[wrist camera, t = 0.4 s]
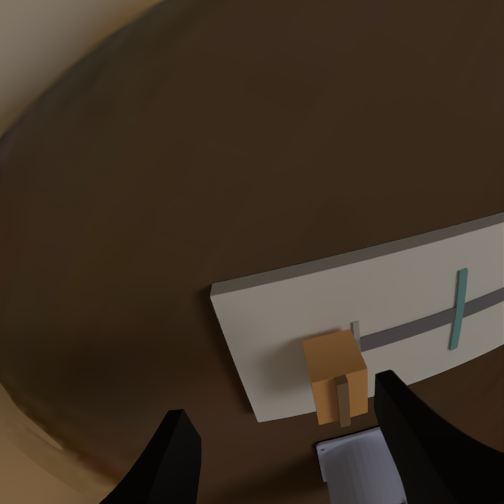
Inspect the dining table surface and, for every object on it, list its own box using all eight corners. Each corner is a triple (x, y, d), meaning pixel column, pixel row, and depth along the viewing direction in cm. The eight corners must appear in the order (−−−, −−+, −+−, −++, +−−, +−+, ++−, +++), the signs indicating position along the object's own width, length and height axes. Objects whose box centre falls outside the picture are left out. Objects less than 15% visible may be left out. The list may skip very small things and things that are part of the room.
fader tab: (353, 373, 20) (370, 419, 16) (310, 384, 20) (320, 432, 16) (350, 328, 18) (370, 376, 15) (301, 340, 19) (313, 391, 15)
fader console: (531, 315, 22) (541, 324, 20) (257, 408, 24) (258, 424, 22) (550, 198, 17) (563, 204, 16) (212, 283, 19) (209, 298, 18)
